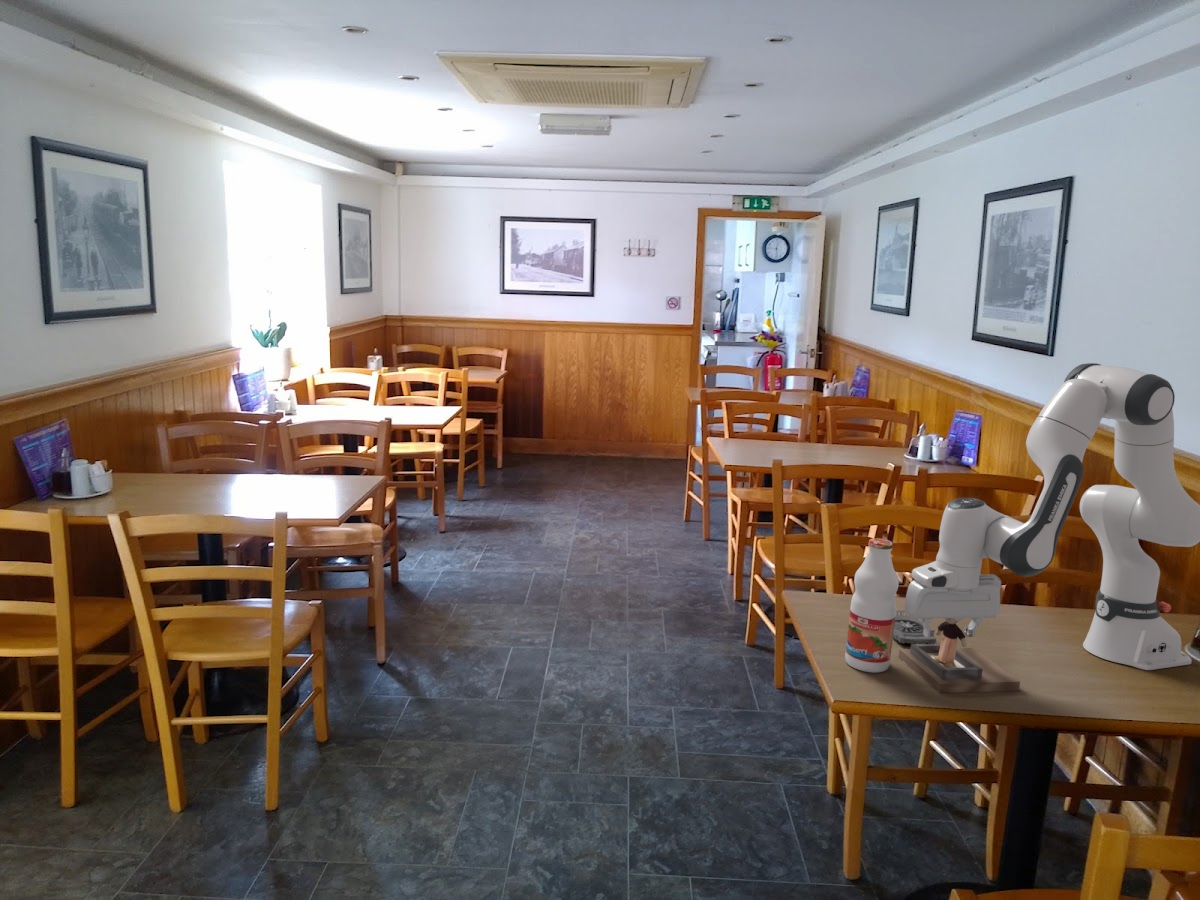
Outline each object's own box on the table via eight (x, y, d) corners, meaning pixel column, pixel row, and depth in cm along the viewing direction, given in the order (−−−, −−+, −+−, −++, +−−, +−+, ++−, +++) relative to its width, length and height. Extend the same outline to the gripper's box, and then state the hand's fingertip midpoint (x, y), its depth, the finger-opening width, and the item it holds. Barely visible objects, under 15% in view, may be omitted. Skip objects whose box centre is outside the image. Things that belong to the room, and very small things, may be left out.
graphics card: (865, 608, 215) (913, 609, 215) (864, 622, 215) (912, 623, 216) (889, 635, 198) (941, 636, 198) (887, 651, 199) (939, 652, 199)
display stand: (972, 656, 196) (974, 639, 195) (1018, 690, 180) (1021, 672, 179) (898, 657, 193) (900, 640, 193) (938, 692, 177) (941, 674, 176)
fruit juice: (897, 666, 189) (912, 543, 183) (874, 677, 182) (889, 550, 177) (859, 651, 195) (873, 532, 190) (836, 662, 189) (849, 539, 184)
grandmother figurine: (925, 659, 187) (932, 604, 185) (934, 655, 190) (941, 600, 187) (958, 672, 181) (966, 615, 179) (968, 668, 184) (975, 612, 181)
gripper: (993, 569, 187) (984, 629, 189) (905, 569, 183) (897, 631, 186) (1011, 579, 180) (1002, 641, 183) (920, 579, 177) (912, 643, 180)
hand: (948, 636), depth 184 cm, fingers open, 8 cm apart
